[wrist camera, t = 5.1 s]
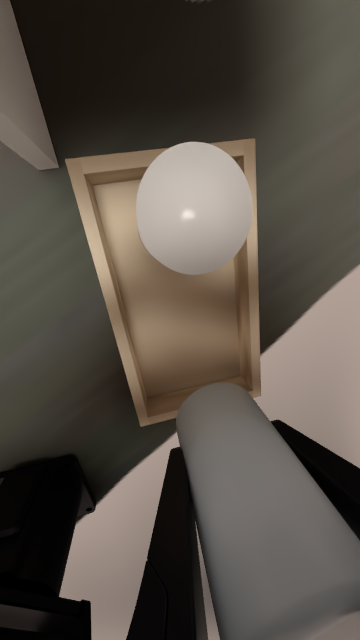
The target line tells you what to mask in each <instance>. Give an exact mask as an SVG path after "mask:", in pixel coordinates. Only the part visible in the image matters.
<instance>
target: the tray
mask: <svg viewBox="0 0 360 640" xmlns="http://www.w3.org/2000/svg"><path fill="white" fill-rule="evenodd" d="M208 144H210V145H214V146H216V147H218V148H220V149H221V150H223V151H224V152H226V153H227V154H228V155H230V156H231V157H232V158H233V159H234V160H235V162H236V163H237V164H238V165H239V166H240V168H241V170H242V171H243V173H244V175H245V177H246V179H247V181H248V184H249V188H250V191H251V197H252V220H251V225H250V229H249V232H248V235H247V238H246V240H245V242H244V244H243V246H242V247H241V249H240V250H239V252H238V253H237V254H236V255H235V256H234V257H233V258H232V259H231V260H230V261H229V262H228V263H227V264H225V265H224V266H223V267H221V268H219V269H217V270H215V271H212V272H210V273H206V274H200V275H188V274H182V273H179V272H176V271H174V270H171V269H169V268H168V267H166V266H164V265H163V264H162V263H160V262H159V261H158V260H156V259H155V258H154V257H153V256H151V255H150V254H149V253H148V252H147V251H146V250H145V248H144V247H143V245H142V243H141V241H140V238H139V235H138V228H137V218H136V200H137V193H138V189H139V185H140V183H141V180H142V178H143V176H144V174H145V172H146V170H147V169H148V167H149V166H150V164H151V163H152V162H153V161H154V160H155V159H156V158H157V157H158V156H159V155H160V154H161V153H163V152H164V151H165V150H167V149H169V148H162V149H153V150H144V151H135V152H126V153H116V154H107V155H98V156H89V157H80V158H71V159H65V162H66V165H67V169H68V172H69V176H70V179H71V183H72V186H73V190H74V193H75V197H76V200H77V204H78V207H79V211H80V215H81V218H82V222H83V225H84V229H85V232H86V236H87V239H88V243H89V246H90V250H91V253H92V257H93V260H94V264H95V267H96V271H97V275H98V278H99V282H100V285H101V289H102V292H103V296H104V299H105V303H106V306H107V310H108V313H109V317H110V320H111V324H112V328H113V331H114V335H115V338H116V342H117V345H118V349H119V352H120V356H121V359H122V363H123V366H124V370H125V373H126V377H127V380H128V384H129V388H130V391H131V395H132V398H133V402H134V405H135V409H136V412H137V416H138V419H139V423H140V426H141V427H142V426H146V425H150V424H154V423H158V422H162V421H165V420H169V419H173V418H176V417H177V414H178V411H179V409H180V407H181V405H182V404H183V402H184V401H185V400H186V399H187V398H188V397H189V396H190V395H191V394H192V393H194V392H195V391H197V390H198V389H200V388H202V387H205V386H207V385H210V384H214V383H223V382H224V383H233V384H236V385H239V386H241V387H243V388H244V389H245V390H246V391H247V392H248V393H249V394H250V395H251V397H252V398H254V397H258V396H261V381H260V380H261V379H260V334H259V289H258V245H257V200H256V156H255V138H253V139H244V140H235V141H226V142H217V143H208Z"/></svg>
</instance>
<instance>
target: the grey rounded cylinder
mask: <svg viewBox="0 0 360 640" xmlns="http://www.w3.org/2000/svg"><path fill="white" fill-rule="evenodd" d="M176 429H177V434H178V438H179V443H180V447H181V450H182V455H183V459H184V464H185V469H186V473H187V478H188V484H189V490H190V496H191V501H192V506H193V511H194V516H195V521H196V525H197V530H198V535H199V540H200V545H201V549H202V554H203V558H204V564H205V568H206V574H207V578H208V583H209V588H210V593H211V598H212V603H213V607H214V612H215V617H216V622H217V626H218V631H219V636H220V640H360V540H359V539H358V538H357V536H356V535H355V534H354V532H353V531H352V530H351V528H350V527H349V526H348V524H347V523H346V522H345V520H344V519H343V518H342V516H341V515H340V514H339V512H338V511H337V510H336V508H335V507H334V506H333V504H332V503H331V502H330V500H329V499H328V498H327V496H326V495H325V494H324V492H323V491H322V490H321V488H320V487H319V486H318V484H317V483H316V482H315V480H314V479H313V478H312V476H311V475H310V474H309V472H308V471H307V470H306V468H305V467H304V466H303V464H302V463H301V462H300V460H299V459H298V458H297V456H296V455H295V454H294V452H293V451H292V450H291V448H290V447H289V446H288V444H287V443H286V442H285V440H284V439H283V438H282V436H281V435H280V434H279V432H278V431H277V430H276V428H275V427H274V426H273V424H272V423H271V422H270V421H269V419H268V418H267V417H266V415H265V414H264V413H263V411H262V410H261V409H260V407H259V406H258V405H257V403H256V402H255V401H254V400H253V398H252V397H251V395H250V394H249V393H248V392H247V391H246V390H245V389H244V388H243V387H241V386H239V385H236V384H233V383H224V382H223V383H214V384H210V385H207V386H205V387H202V388H200V389H198V390H197V391H195V392H194V393H192V394H191V395H190V396H189V397H188V398H187V399H186V400H185V401H184V402H183V404H182V405H181V407H180V409H179V411H178V414H177V417H176Z"/></svg>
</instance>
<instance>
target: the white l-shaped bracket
mask: <svg viewBox="0 0 360 640" xmlns="http://www.w3.org/2000/svg"><path fill="white" fill-rule="evenodd" d="M0 141H1V142H2V143H3V144H5V145H6V146H7V147H9V148H10V149H11V150H13V151H14V152H15V153H17V154H18V155H19V156H21V157H22V158H23V159H25V160H26V161H27V162H29V163H30V164H31V165H33V166H34V167H35V168H37V169H38V170H45V169H54V168H59V166H58V162H57V159H56V155H55V152H54V149H53V145H52V142H51V138H50V135H49V132H48V128H47V125H46V121H45V118H44V115H43V111H42V108H41V104H40V101H39V98H38V94H37V91H36V87H35V84H34V81H33V77H32V74H31V71H30V67H29V64H28V60H27V57H26V54H25V50H24V47H23V43H22V40H21V37H20V33H19V30H18V26H17V23H16V20H15V16H14V13H13V9H12V6H11V3H10V0H0Z"/></svg>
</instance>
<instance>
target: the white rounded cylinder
mask: <svg viewBox="0 0 360 640" xmlns="http://www.w3.org/2000/svg"><path fill="white" fill-rule="evenodd" d="M136 218H137V228H138V235H139V238H140V241H141V243H142V245H143V247H144V248H145V250H146V251H147V252H148V253H149V254H150V255H151V256H153V257H154V258H155V259H156V260H158V261H159V262H160V263H162V264H163V265H164V266H166V267H168V268H169V269H171V270H174V271H176V272H179V273H182V274H188V275H200V274H206V273H210V272H212V271H215V270H217V269H219V268H221V267H223V266H224V265H225V264H227V263H228V262H229V261H230V260H231V259H232V258H233V257H234V256H235V255H236V254H237V253H238V252H239V250H240V249H241V247H242V246H243V244H244V242H245V240H246V238H247V235H248V232H249V229H250V225H251V220H252V197H251V191H250V188H249V184H248V181H247V179H246V177H245V175H244V173H243V171H242V170H241V168H240V166H239V165H238V164H237V163H236V162H235V160H234V159H233V158H232V157H231V156H230V155H228V154H227V153H226V152H224V151H223V150H221V149H220V148H218V147H216V146H214V145H210V144H207V143H202V142H186V143H181V144H178V145H175V146H172V147H171V148H169V149H167V150H165V151H164V152H163V153H161V154H160V155H159V156H158V157H157V158H156V159H155V160H154V161H153V162H152V163H151V164H150V166H149V167H148V169H147V170H146V172H145V174H144V176H143V178H142V180H141V183H140V185H139V189H138V193H137V200H136Z"/></svg>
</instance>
